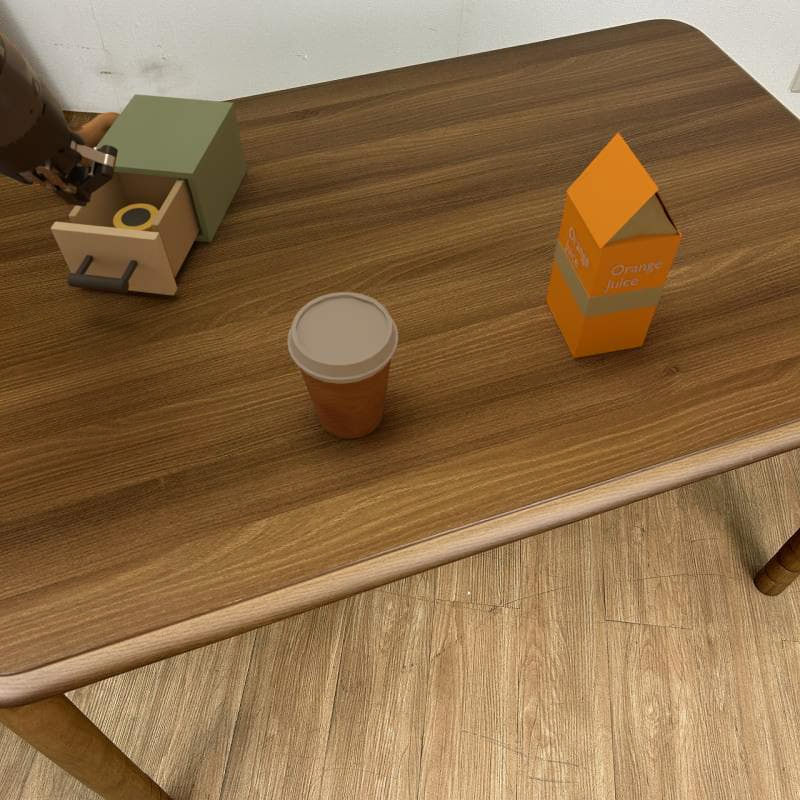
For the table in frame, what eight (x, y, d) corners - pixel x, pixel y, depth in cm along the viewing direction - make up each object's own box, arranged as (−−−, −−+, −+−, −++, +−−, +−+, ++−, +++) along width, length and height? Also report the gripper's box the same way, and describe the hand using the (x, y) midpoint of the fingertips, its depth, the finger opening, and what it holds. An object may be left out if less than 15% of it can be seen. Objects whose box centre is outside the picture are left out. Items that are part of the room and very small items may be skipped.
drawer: (159, 323, 79) (138, 267, 73) (59, 311, 80) (30, 255, 74) (213, 218, 90) (199, 162, 83) (124, 209, 91) (103, 153, 85)
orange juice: (610, 289, 83) (658, 126, 67) (643, 346, 77) (703, 183, 62) (543, 300, 82) (575, 137, 66) (572, 359, 76) (614, 196, 61)
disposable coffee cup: (419, 421, 71) (420, 336, 62) (335, 470, 68) (323, 387, 59) (364, 361, 76) (357, 273, 67) (283, 404, 73) (264, 317, 64)
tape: (116, 257, 84) (105, 228, 81) (133, 229, 87) (123, 200, 84) (158, 262, 83) (148, 233, 80) (174, 233, 86) (165, 205, 83)
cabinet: (211, 242, 88) (192, 173, 81) (111, 232, 90) (83, 163, 82) (247, 171, 97) (233, 102, 90) (155, 162, 99) (134, 94, 91)
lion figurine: (76, 206, 93) (49, 142, 86) (46, 193, 95) (17, 129, 87) (157, 148, 100) (138, 85, 93) (129, 137, 102) (108, 74, 95)
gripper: (-122, 132, 51) (1, 224, 69) (69, 159, 52) (144, 244, 69) (-98, 33, 52) (17, 148, 70) (89, 60, 53) (158, 168, 70)
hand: (80, 196), depth 69 cm, fingers closed
